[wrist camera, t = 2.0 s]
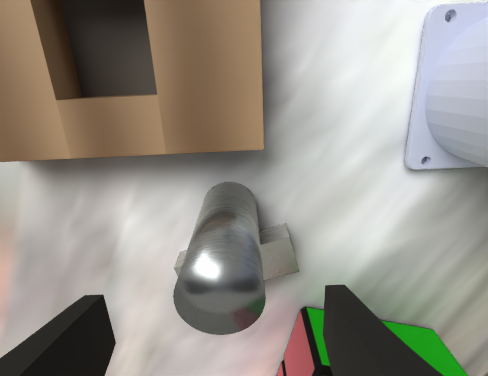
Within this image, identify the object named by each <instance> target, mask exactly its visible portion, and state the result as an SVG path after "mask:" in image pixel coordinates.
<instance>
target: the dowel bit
mask: <svg viewBox="0 0 488 376" xmlns="http://www.w3.org/2000/svg"><path fill="white" fill-rule="evenodd" d="M173 297H174V304H175V307H176V310H177V312H178V313H179V315H180V316H181V318H182V319H183V320H184V321H185V322H186V323H188V324H189V325H190V326H192V327H193V328H195V329H197V330H199V331H202V332H205V333H209V334H216V335H225V334H232V333H236V332H239V331H242V330H244V329H246V328H248V327H249V326H251V325H252V324H253V323H254V322H255V321H256V320H257V319H258V318H259V317H260V315H261V313H262V312H263V309H264V306H265V288H264V278H263V268H262V258H261V248H260V238H259V227H258V217H257V207H256V201H255V198H254V196H253V194H252V193H251V191H250V190H249V189H248V188H246V187H245V186H243V185H241V184H239V183H235V182H224V183H220V184H218V185H216V186H214V187H213V188H212V189H211V190H210V191H209V192H208V193H207V195H206V197H205V199H204V202H203V205H202V208H201V211H200V214H199V217H198V220H197V223H196V226H195V229H194V232H193V235H192V238H191V241H190V244H189V247H188V250H187V253H186V256H185V259H184V262H183V264H182V267H181V270H180V273H179V276H178V279H177V282H176V285H175V289H174V295H173Z"/></svg>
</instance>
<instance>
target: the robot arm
mask: <svg viewBox="0 0 488 376" xmlns="http://www.w3.org/2000/svg"><path fill="white" fill-rule="evenodd" d="M447 12H449V13H450V14H451V19H450V21H449V22H447V21H446V20H445V15H446V13H447ZM424 157H427V160H426V162H425V163H423V164H421V161H422V159H423V158H424ZM405 165H406V166H407V167H408V168H410V169H412V170H425V169H447V168H468V167H488V2H477V3H459V4H441V5H438V6H435V7H433V8H431V9H430V10H429V11H428V12H427V14H426V17H425V22H424V28H423V35H422V42H421V49H420V56H419V63H418V70H417V77H416V84H415V91H414V98H413V105H412V112H411V119H410V126H409V133H408V140H407V147H406V154H405ZM323 338H324V343H325V347H326V351H327V356H328V360H329V364H330V368H331V371H332V374H333V376H443V375H442V374H441V373H440V372H438V371H437V370H436V369H435V368H433V367H432V366H431V365H430V364H429V363H428V362H426V361H425V360H424V359H423V358H422V357H420V356H419V355H418V354H417V353H416V352H415V351H413V350H412V349H411V348H410V347H409V346H408V345H407V344H405V343H404V342H403V341H402V340H401V339H400V338H399V337H398V336H397V335H396V334H395V333H393V332H392V331H391V330H390V329H389V328H388V327H387V326H386V325H385V324H384V323H383V322H382V321H381V320H380V319H379V318H378V317H377V316H376V315H375V314H373V313H372V312H371V311H370V310H369V309H368V308H367V307H366V306H365V305H364V304H363V303H362V302H361V301H360V300H359V299H358V298H357V297H356V296H355V295H354V294H353V293H352V292H351V291H350V290H349V289H348V288H347V287H346V286H345V285H326V286H325V302H324V319H323ZM115 344H116V342H115V338H114V334H113V330H112V326H111V322H110V319H109V315H108V311H107V307H106V303H105V299H104V295H85V296H83V297H82V298H80V299H79V300H77V301H76V302H75V303H73V304H72V305H71V306H69V307H68V308H67V309H65V310H64V311H63V312H61V313H60V314H59V315H57V316H56V317H55V318H53V319H52V320H51V321H50V322H48V323H47V324H46V325H44V326H43V327H42V328H40V329H39V330H38V331H36V332H35V333H34V334H32V335H31V336H30V337H28V338H27V339H26V340H25V341H23V342H22V343H21V344H19V345H18V346H17V347H15V348H14V349H13V350H11V351H10V352H8V353H7V354H6V355H4V356H3V357H1V358H0V376H105V373H106V370H107V367H108V365H109V362H110V359H111V356H112V353H113V350H114V347H115Z"/></svg>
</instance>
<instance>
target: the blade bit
mask: <svg viewBox="0 0 488 376" xmlns="http://www.w3.org/2000/svg"><path fill="white" fill-rule="evenodd" d="M259 238H260V248H261V258H262V268H263V278H264V280H267V279H271V278H275V277H279V276H283V275H287V274H291V273H295V272H299V269H298V265H297V262H296V258H295V255H294V251H293V248H292V244H291V241H290V237H289V234H288V230H287V227H286V223H285V224H282V225H278V226H274V227H271V228H267V229H263V230H259ZM186 253H187V250H185V251H182V252H180V253H179V256H178V259H177V261H176V264H175V266H174V269H175V271H176V273H177V275H178V276H179V273H180V270H181V267H182V264H183V262H184V259H185V256H186Z"/></svg>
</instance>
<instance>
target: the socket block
mask: <svg viewBox="0 0 488 376" xmlns="http://www.w3.org/2000/svg"><path fill="white" fill-rule="evenodd" d="M243 150H264V131H263V91H262V52H261V12H260V0H0V162H11V161H32V160H53V159H74V158H95V157H116V156H138V155H159V154H180V153H201V152H222V151H243Z"/></svg>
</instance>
